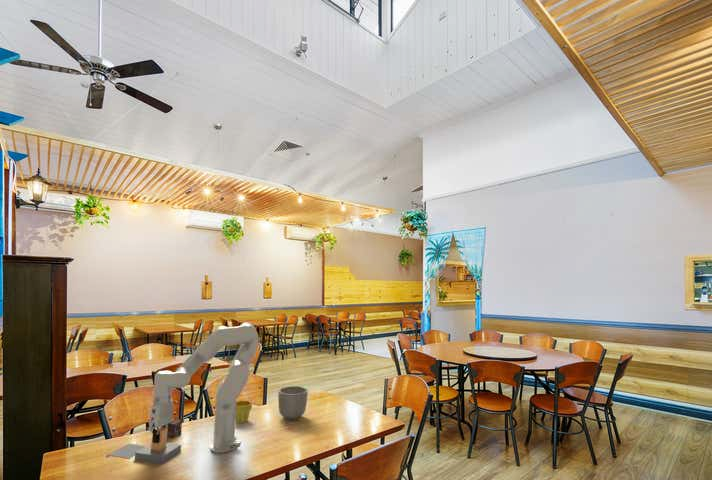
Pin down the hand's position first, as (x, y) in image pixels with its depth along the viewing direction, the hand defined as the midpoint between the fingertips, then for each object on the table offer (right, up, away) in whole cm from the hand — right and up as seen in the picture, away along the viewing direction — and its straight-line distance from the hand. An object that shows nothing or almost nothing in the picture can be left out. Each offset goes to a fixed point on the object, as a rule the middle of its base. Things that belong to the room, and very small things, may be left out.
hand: (159, 440), depth 167 cm
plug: (0, -4, 0) cm, 4 cm away
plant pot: (+24, -12, +42) cm, 50 cm away
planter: (+52, -14, +48) cm, 72 cm away
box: (-4, -9, +20) cm, 23 cm away
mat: (-16, -7, +3) cm, 17 cm away
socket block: (0, -7, -1) cm, 7 cm away
